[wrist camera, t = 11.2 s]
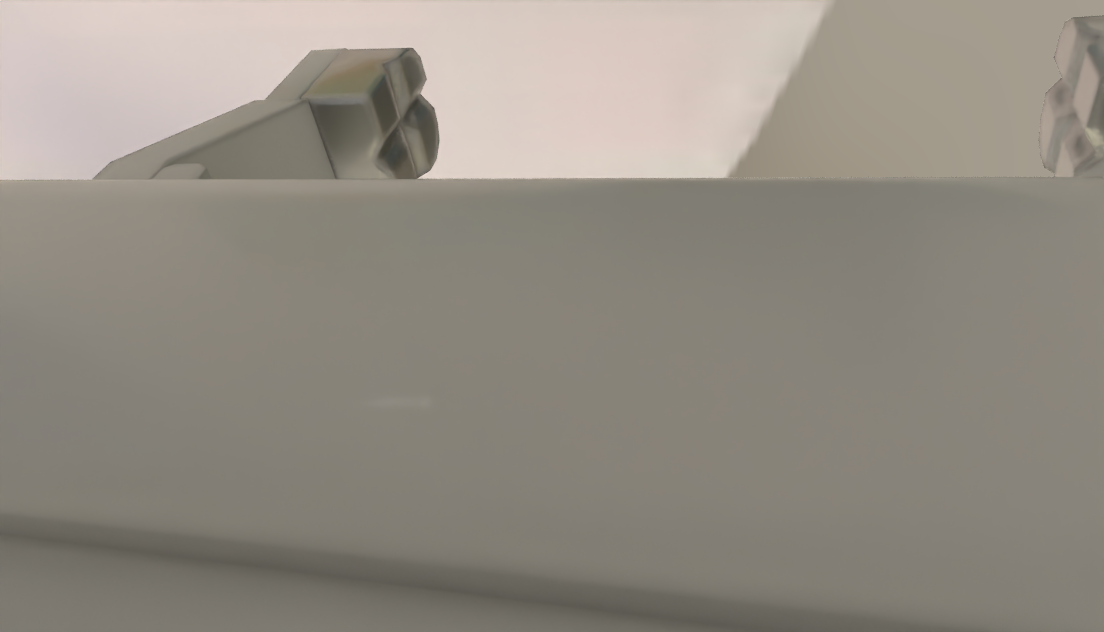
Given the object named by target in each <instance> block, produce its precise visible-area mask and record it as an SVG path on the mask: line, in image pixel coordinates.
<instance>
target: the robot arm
mask: <svg viewBox="0 0 1104 632" xmlns="http://www.w3.org/2000/svg"><path fill="white" fill-rule="evenodd" d="M1054 59H1055V62H1056V64H1057V67H1058V69H1059V72H1060V74H1061V77H1062V78H1061V79H1060V80H1059V81H1058V82H1057V83H1055V84H1054V85H1053V86H1052V87H1051V88H1050V89H1049V90H1048V91H1047V92H1046V94H1045V100H1044V104H1043V109H1042V114H1041V119H1040V132H1039V146H1040V156H1041V159H1042V162H1043V166H1044V168H1046V169H1048V170H1049V171H1051V172H1053V173H1054V177H917V178H915V177H907V178H906V177H903V178H901V177H900V178H898V177H893V178H892V177H891V178H890V177H889V178H888V177H886V178H546V179H417V178H418V177H420V176H422V175H424V174H425V173H427V172H429V171H430V170H431V168H432V166H433V165H434V163H435V161H436V159H437V153H438V146H439V131H438V122H437V118H436V114H435V110H434V107H433V106H432V105H431V104H430V103H429V102H428V101H427V100H426V99H425V98H424V97H423V96H422V95H421V94H420V93H421V91H422V89H423V86H424V84H425V82H426V75H425V72H424V68H423V65H422V61H421V58H420V56H419V55H418V54H417V52H416V51H415V50H414V49H413V48H389V49H350V50H348V49H346V48H343V49H328V50H314V51H310V52H309V54H308V55H307V56H306V57H305V58H304V59H303V60H302V61H301V62H300V63H299V64H298V65H297V66H296V67H295V68H294V69H293V70H292V72H291V73H290V74H289V75H288V76H287V77H286V78H285V79H284V80H283V81H282V82H281V83H280V84H279V85H278V86H277V87H276V88H275V89H274V91H273V92H272V93H271V94H270V95H269V96H268V97H267V98H266V99H265V100H257V101H253V102H250V103H248V104H246V105H243V106H241V107H239V108H236V109H234V110H232V111H229V112H227V113H225V114H222V115H220V116H217V117H215V118H213V119H210V120H208V121H206V122H203V123H201V124H199V125H196V126H194V127H192V128H189V129H187V130H185V131H182V132H180V133H178V134H175V135H173V136H171V137H168V138H166V139H164V140H161V141H159V142H157V143H154V144H152V145H149V146H147V147H145V148H142V149H140V150H138V151H135V152H133V153H131V154H128V155H126V156H124V157H121V158H119V159H117V160H114V161H112V162H110V163H109V164H108V165H107V166H106V167H105V168H104V169H103V170H102V171H100V172H99V173H98V174H97V175H96V176H95V177H94V178H93V179H92V180H0V632H1104V16H1091V17H1090V16H1089V17H1074V18H1071V19H1069V20H1068V21H1066V22H1065V23H1064V26H1063V28H1062V31H1061V33H1060V36H1059V39H1058V44H1057V48H1056V52H1055V56H1054Z"/></svg>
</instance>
